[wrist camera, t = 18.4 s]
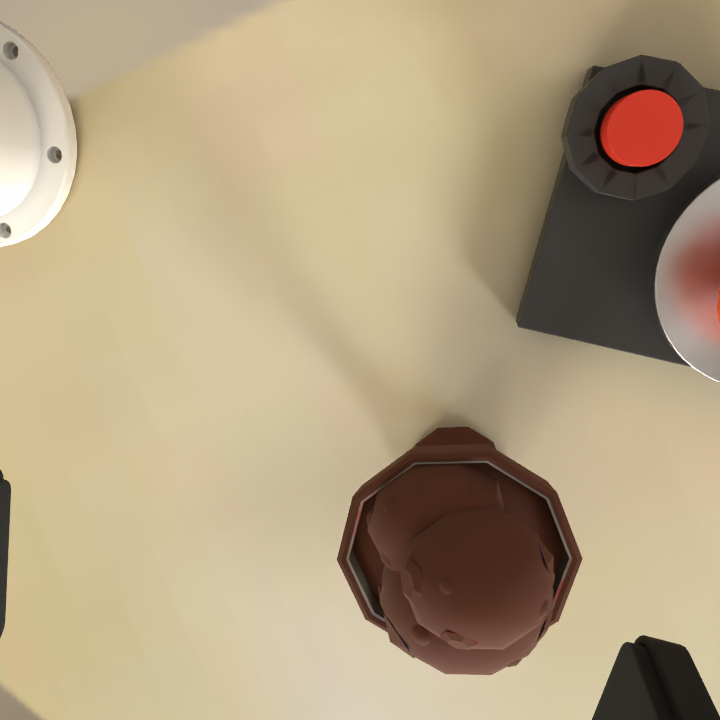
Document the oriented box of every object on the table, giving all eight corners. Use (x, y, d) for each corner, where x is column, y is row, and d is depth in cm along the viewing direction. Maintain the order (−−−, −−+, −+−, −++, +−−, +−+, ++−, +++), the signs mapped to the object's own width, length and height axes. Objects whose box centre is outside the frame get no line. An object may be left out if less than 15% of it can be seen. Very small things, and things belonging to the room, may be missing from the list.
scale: (505, 318, 36) (510, 332, 34) (579, 55, 32) (591, 44, 29) (811, 389, 35) (843, 409, 32) (929, 125, 31) (977, 121, 28)
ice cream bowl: (354, 388, 39) (297, 519, 25) (551, 380, 37) (612, 515, 23) (370, 548, 42) (327, 748, 27) (553, 547, 40) (608, 760, 26)
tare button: (590, 158, 31) (597, 158, 30) (612, 86, 30) (620, 82, 29) (658, 172, 31) (669, 173, 29) (682, 101, 30) (694, 97, 28)
